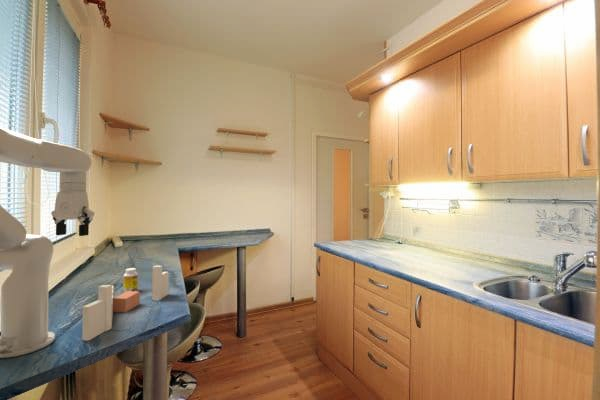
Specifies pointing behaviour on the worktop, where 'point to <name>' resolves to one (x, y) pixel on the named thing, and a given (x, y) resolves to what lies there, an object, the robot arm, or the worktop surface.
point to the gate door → (112, 298)
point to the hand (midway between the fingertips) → (72, 235)
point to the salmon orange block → (126, 301)
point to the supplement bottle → (130, 280)
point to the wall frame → (100, 311)
